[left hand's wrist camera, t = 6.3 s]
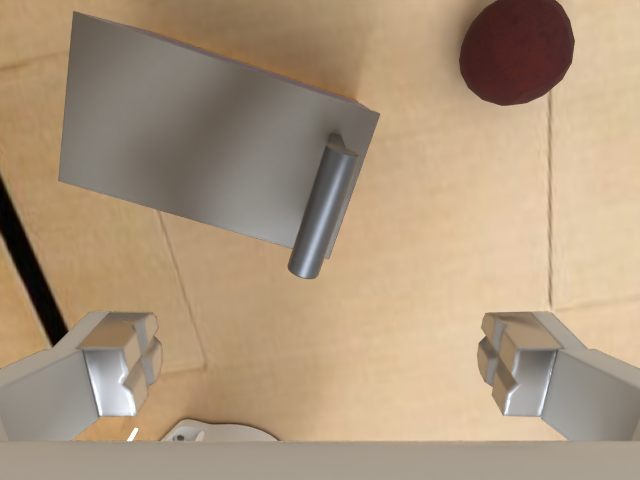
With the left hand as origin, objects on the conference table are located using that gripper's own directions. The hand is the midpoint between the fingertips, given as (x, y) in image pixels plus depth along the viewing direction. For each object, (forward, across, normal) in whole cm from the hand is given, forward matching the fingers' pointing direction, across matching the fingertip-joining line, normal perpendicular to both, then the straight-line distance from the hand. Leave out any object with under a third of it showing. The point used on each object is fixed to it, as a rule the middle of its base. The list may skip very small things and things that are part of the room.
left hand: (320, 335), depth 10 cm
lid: (+17, +6, -2) cm, 18 cm away
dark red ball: (+28, -14, -8) cm, 32 cm away
